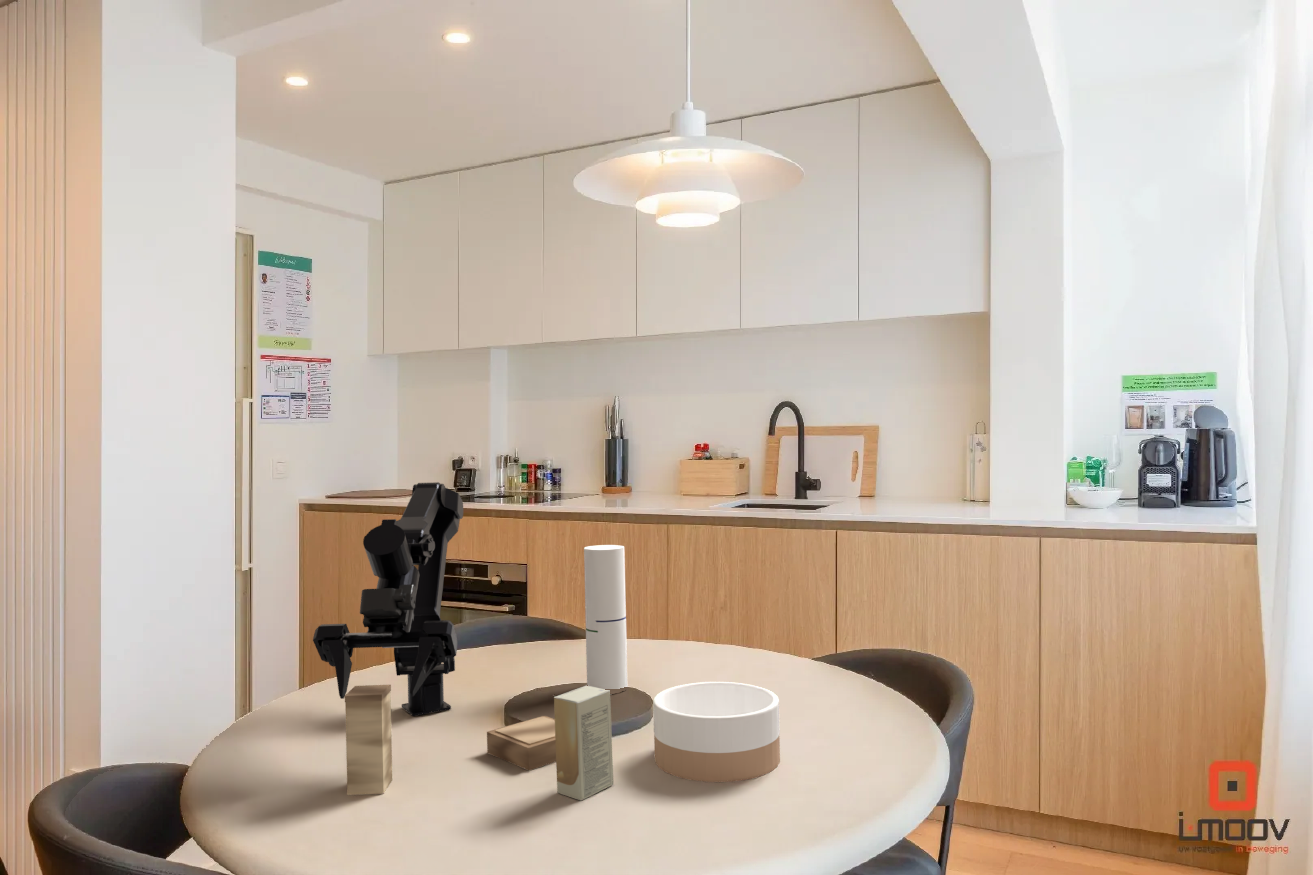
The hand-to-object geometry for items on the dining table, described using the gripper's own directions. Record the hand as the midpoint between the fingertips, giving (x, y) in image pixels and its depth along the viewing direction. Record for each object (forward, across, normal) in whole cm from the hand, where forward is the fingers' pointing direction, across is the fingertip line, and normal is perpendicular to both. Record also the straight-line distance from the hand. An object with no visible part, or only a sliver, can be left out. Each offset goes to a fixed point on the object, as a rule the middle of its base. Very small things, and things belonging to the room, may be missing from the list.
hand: (376, 695), depth 119 cm
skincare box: (+13, +28, +2) cm, 31 cm away
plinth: (+3, +20, +12) cm, 24 cm away
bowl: (+7, +45, +9) cm, 47 cm away
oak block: (+10, 0, +5) cm, 11 cm away
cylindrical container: (-19, +30, +34) cm, 49 cm away
